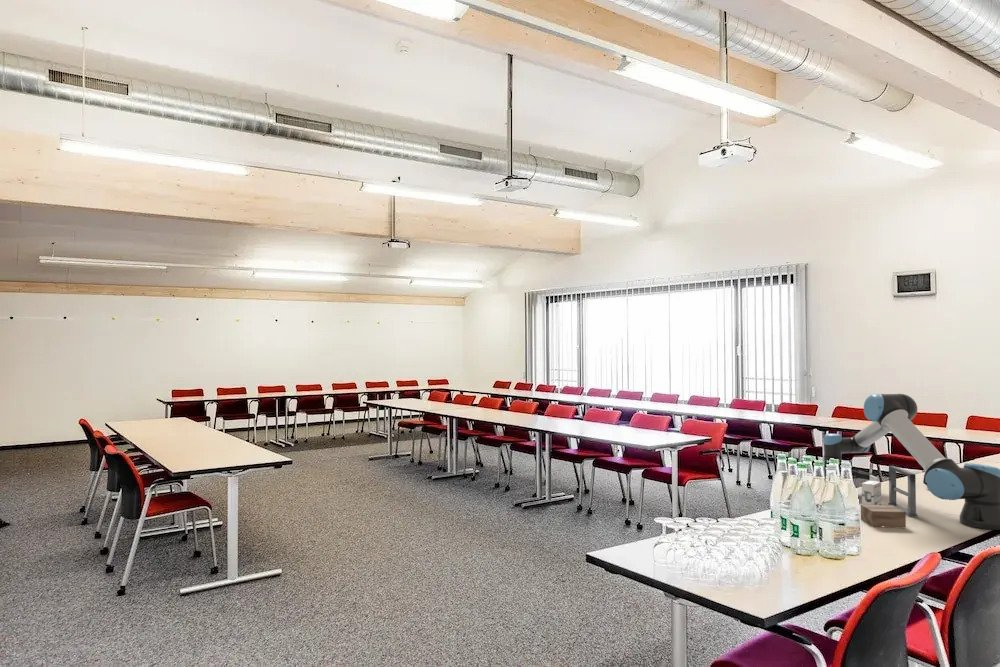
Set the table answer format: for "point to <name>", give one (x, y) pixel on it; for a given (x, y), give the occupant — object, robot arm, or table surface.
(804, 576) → the table surface
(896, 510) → the walnut plinth
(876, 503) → the ink box
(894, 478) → the rack
